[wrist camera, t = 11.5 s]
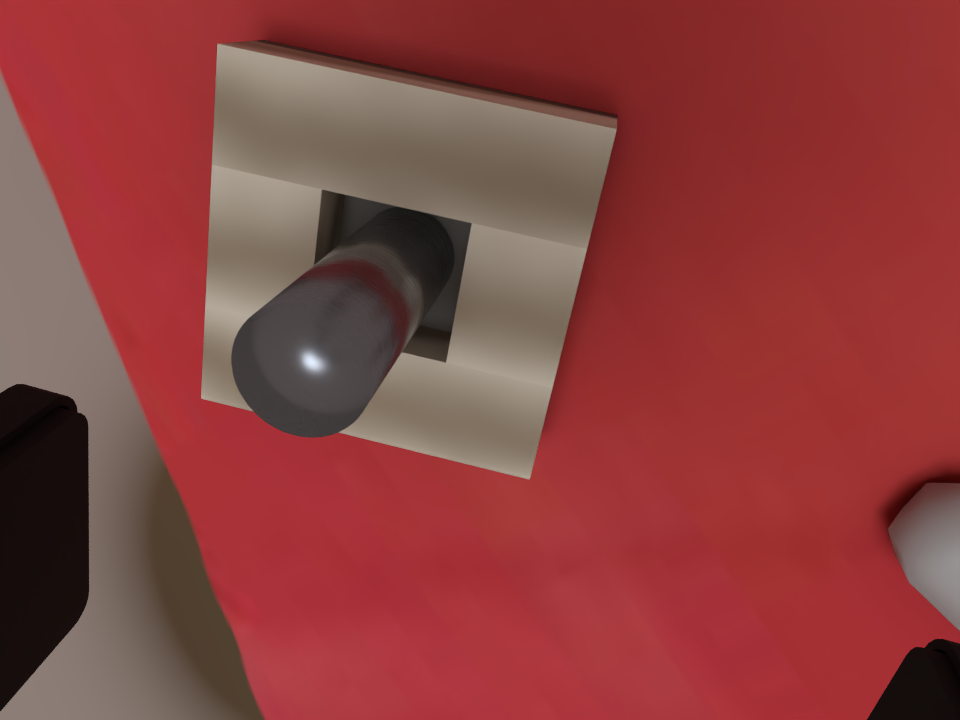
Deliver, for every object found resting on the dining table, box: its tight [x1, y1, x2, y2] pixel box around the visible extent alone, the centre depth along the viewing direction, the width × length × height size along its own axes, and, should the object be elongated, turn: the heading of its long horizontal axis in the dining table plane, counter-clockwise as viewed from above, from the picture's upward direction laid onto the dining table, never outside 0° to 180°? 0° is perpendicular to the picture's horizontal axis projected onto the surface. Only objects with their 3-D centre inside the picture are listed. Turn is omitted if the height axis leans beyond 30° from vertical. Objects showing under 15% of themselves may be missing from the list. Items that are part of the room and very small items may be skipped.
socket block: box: [201, 40, 617, 479], centre depth 32 cm, size 14×14×4 cm
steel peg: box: [231, 207, 454, 437], centre depth 28 cm, size 4×4×12 cm
